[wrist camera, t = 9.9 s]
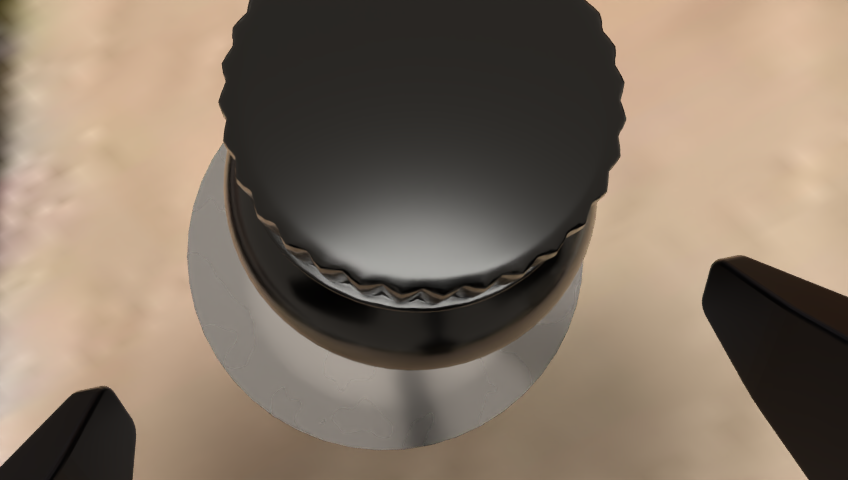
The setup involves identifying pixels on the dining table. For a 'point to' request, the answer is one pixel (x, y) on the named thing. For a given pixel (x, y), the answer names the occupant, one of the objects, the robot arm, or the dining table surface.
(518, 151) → the supplement bottle
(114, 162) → the dining table surface
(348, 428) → the metal plate
